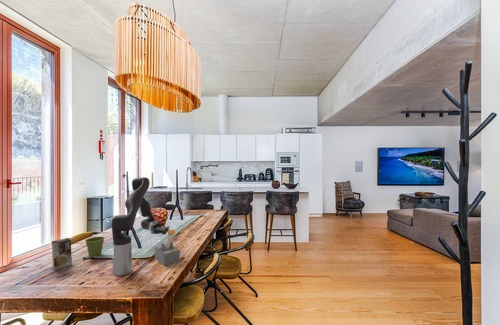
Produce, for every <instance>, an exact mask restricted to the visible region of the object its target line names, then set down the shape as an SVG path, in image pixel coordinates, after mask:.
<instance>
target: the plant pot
mask: <svg viewBox="0 0 500 325" xmlns="http://www.w3.org/2000/svg"><path fill="white" fill-rule="evenodd" d="M104 239H106V237H105V236H94V237H89V238H86V239H84V242H85V244H86V248H87V252H88V257H91V258H92V257H93V258H95V257H94V256H96V257H98V255H99V256H101V255H102V251H103V244H104V241H105V240H104ZM100 254H101V255H100Z"/></svg>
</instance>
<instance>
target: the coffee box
mask: <svg viewBox="0 0 500 325" xmlns="http://www.w3.org/2000/svg"><path fill="white" fill-rule="evenodd" d="M71 241H72V240H71V238H69V237H66V238H60V239H56V240H52V241H51V255H52V268H53V270H57V269H62V268H66V267H68V266H72V265H73V261H72V258H73V257H72V256H73V255H72V242H71Z"/></svg>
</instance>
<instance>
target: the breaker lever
mask: <svg viewBox="0 0 500 325" xmlns="http://www.w3.org/2000/svg"><path fill="white" fill-rule="evenodd" d="M175 234H176V231H175V229H169V231H168V232H167V236H166V240H165V242H164V248H169V247H170V244H171V241H172V240H173V238H174V235H175ZM172 242H173V241H172Z"/></svg>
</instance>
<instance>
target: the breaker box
mask: <svg viewBox="0 0 500 325" xmlns="http://www.w3.org/2000/svg"><path fill="white" fill-rule="evenodd" d="M173 244H174V243H173V241H171V244H170V247H169V248H164V245H165V243H160V246H157V247H154V254H155V255H154V258H155V260H157V261H158V262H159V264H162V265H163V266H164V267H166V266H169V265H173V264H176V263H179V262H181V254H180V252H181V251H180V250H179V249H178V248H176V247H175V246H174V245H173Z"/></svg>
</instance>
